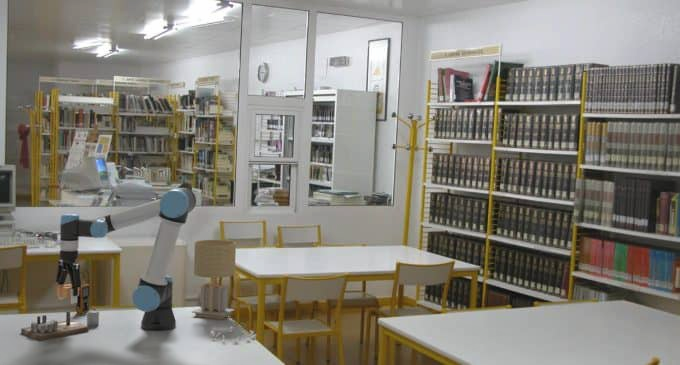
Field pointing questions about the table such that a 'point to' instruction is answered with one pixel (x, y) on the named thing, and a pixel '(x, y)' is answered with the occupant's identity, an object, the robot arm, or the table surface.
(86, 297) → the multimeter
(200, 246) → the desk lamp
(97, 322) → the smooth gray pebble
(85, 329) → the gear board
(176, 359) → the table surface
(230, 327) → the game piece set
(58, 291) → the loose gear
